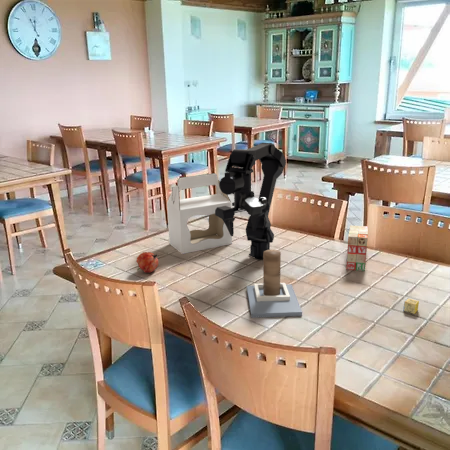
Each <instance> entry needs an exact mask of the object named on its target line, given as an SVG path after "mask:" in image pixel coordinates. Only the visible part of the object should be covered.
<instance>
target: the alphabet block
mask: <svg viewBox="0 0 450 450" xmlns="http://www.w3.org/2000/svg"><path fill="white" fill-rule="evenodd" d="M403 302H404V303H403V312H406V313H410V314H413V315H415V314H416V313H417V312H418V310H419V304H420V301H419V300H416V299H412V298H406V299H405V300H404V301H403Z"/></svg>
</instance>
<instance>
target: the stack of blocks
mask: <svg viewBox="0 0 450 450" xmlns="http://www.w3.org/2000/svg"><path fill="white" fill-rule="evenodd" d="M368 235H369V228H368V225H367V226H366V225H352V224H351V225H349V231H348V238H347V251H346V252H347V253H346V254H347V255H346V256H347V257H346V265H345V269H346V270H347V269H349V271H358V270H362V271H361V272H365V270H366V261H367V252H368V249H367V248H368V237H369V236H368Z"/></svg>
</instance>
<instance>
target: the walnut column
mask: <svg viewBox="0 0 450 450" xmlns="http://www.w3.org/2000/svg"><path fill="white" fill-rule="evenodd" d="M281 254H282V253H281V251H280V250H278V249H270V250H266V251H264V252H263V259H262V261H263V263H262V265H263V267H262V268H263V269H262V271H263V274H262V277H263V279H262V280H263V294H264V295H265V296H275V295H280V283H281V265H282V264H281V262H282V261H281Z"/></svg>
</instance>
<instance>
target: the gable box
mask: <svg viewBox="0 0 450 450" xmlns="http://www.w3.org/2000/svg"><path fill="white" fill-rule="evenodd" d="M176 183H177V185H175V186H171V194H170V196H169V198H168V200H167V202H166V209H167V226H168V238H169V239H168V241H169V245H171V246H172V248H174V249H176V251H178V252H179V253H180V254H182V255H183V254H185V255H186V254H189V253H194V252H200V251H203V250H204V251H205V250H209V249H213V248H219V247H223V246H228V245H232V244H233V236H231V235H230V233H229V231H228V229H227V227H226V225H225V223H224V221H223V220H222V219H221V218H219V217H218V216H215V210H216V208H217V207H222V206H228V207H230V208H232V201H231V199H230V197H229V196H228V195H226V194H224V193H223V192H222V191H221V190H220V187H219V183H220V180H219V179H218V174H217V173H215V172H214V173H206V174H199V175H189V176H183V177H179V178H178V179H177V180H176ZM209 186H215V194H214V193H213V194H209V195H207V194H206V195H202V196H201V195H200V196H194V197H188V198H181V194H180V192H181V190H186V189H195V188H202V187H209ZM195 216H208V228H207V229H205V230H202V229H192V230H190V228H189V226H188V220H189V219H190V218H192V217H195Z"/></svg>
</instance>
